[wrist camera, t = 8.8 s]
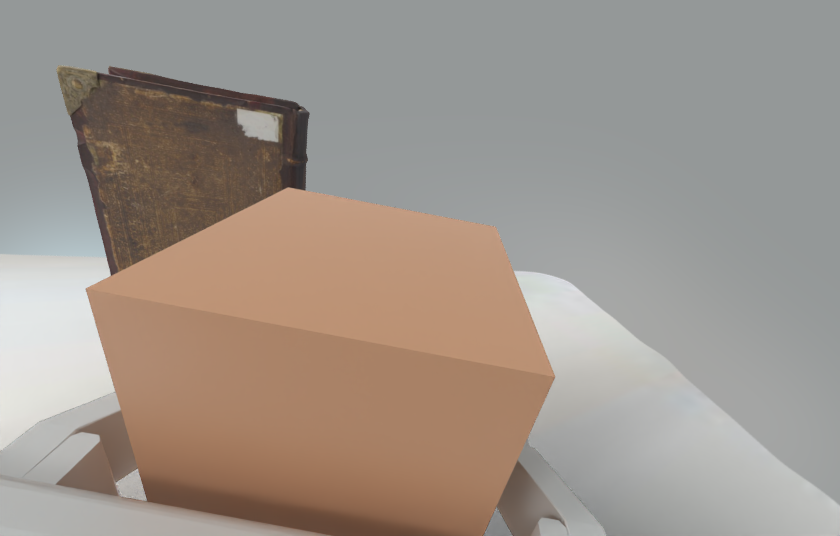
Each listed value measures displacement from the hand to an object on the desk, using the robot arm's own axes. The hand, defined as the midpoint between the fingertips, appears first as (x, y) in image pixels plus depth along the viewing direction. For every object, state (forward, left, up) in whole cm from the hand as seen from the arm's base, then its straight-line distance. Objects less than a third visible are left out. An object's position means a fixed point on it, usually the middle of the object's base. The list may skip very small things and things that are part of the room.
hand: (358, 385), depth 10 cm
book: (-19, +22, -19) cm, 35 cm away
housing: (0, -1, -6) cm, 6 cm away
